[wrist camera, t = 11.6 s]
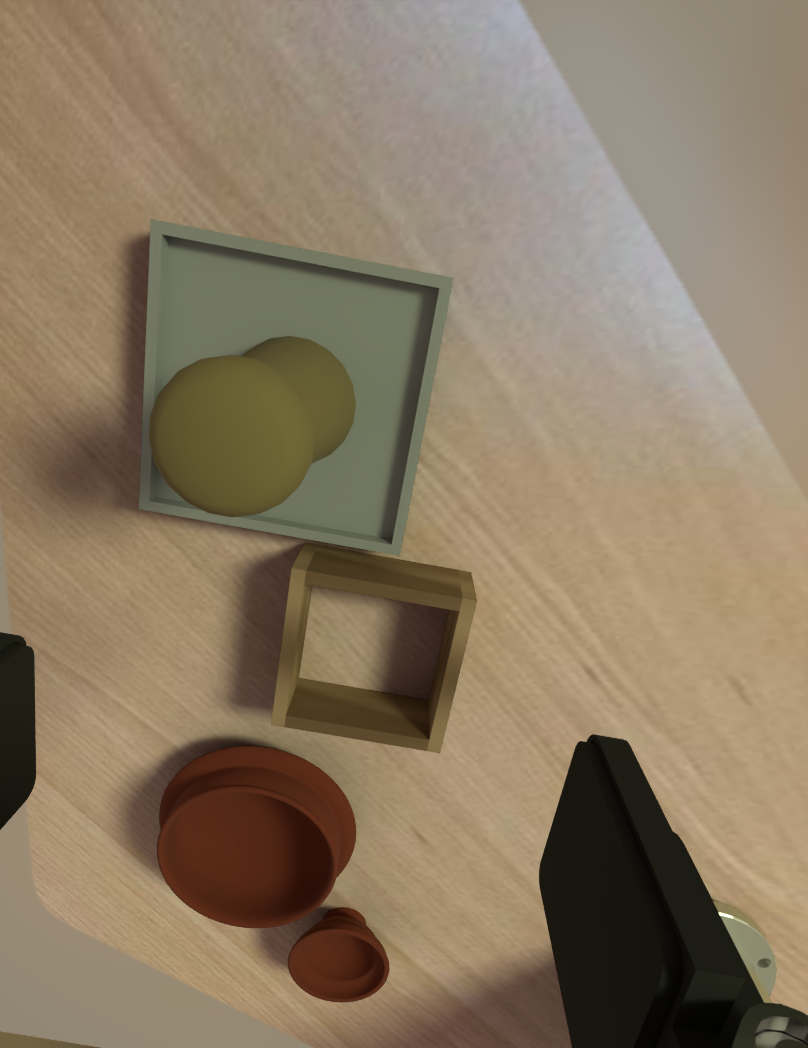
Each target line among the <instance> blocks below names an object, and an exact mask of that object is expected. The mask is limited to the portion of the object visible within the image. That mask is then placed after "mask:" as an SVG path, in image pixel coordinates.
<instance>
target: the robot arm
mask: <svg viewBox="0 0 808 1048" xmlns="http://www.w3.org/2000/svg"><path fill="white" fill-rule="evenodd" d="M35 780H36V741H35V674H34V651H33V649H32V648H31V647H29V646H26V642H25V640H24V638H23V637H21V636H19V635H13V634H7V633H1V632H0V830H1V828H2V827H3V826H4V825H5V824H6V823H7V821H8V820H9V819H10V818H11V817H12V816H13V815H14V814H15V813H16V811H17V810H18V809H19V808H20V807H21V806H22V805H23V803H24V802H25V801H26V800H27V798H28V797H29V795H30V793H31V792H32V789H33V787H34V784H35ZM539 884H540V891H541V896H542V901H543V905H544V910H545V915H546V920H547V925H548V930H549V935H550V940H551V945H552V950H553V955H554V960H555V965H556V970H557V975H558V980H559V985H560V990H561V995H562V1000H563V1004H564V1009H565V1014H566V1019H567V1024H568V1029H569V1034H570V1039H571V1044H572V1048H808V1015H806V1014H804V1013H803V1012H801V1011H798V1010H796V1009H793V1008H790V1007H788V1006H785V1005H782V1004H776V1003H773V1002H772V1000H771V999H770V997H769V996H770V994H771V992H772V989H773V987H774V984H775V981H776V973H777V965H776V959H775V955H774V953H773V950H772V948H771V946H770V944H769V942H768V941H767V939H766V937H765V935H764V934H763V932H762V931H761V929H760V928H759V926H758V925H757V924H756V923H755V922H754V921H753V920H752V919H751V918H749V917H748V916H747V915H745V914H744V913H742V912H740V911H739V910H737V909H736V908H734V907H731V906H728V905H726V904H723V903H720V902H717V901H713V900H712V898H711V896H710V894H709V892H708V890H707V888H706V886H705V885H704V883H703V881H702V879H701V877H700V875H699V873H698V871H697V869H696V867H695V865H694V863H693V861H692V859H691V857H690V855H689V853H688V851H687V849H686V847H685V845H684V843H683V842H682V840H681V839H680V837H679V836H678V835H677V834H676V833H674V832H673V831H672V829H671V827H670V825H669V823H668V821H667V819H666V817H665V815H664V813H663V811H662V809H661V807H660V805H659V803H658V801H657V799H656V797H655V795H654V793H653V791H652V789H651V787H650V785H649V783H648V781H647V779H646V777H645V775H644V773H643V771H642V769H641V767H640V765H639V763H638V761H637V759H636V757H635V755H634V753H633V751H632V749H631V746H630V745H629V743H628V742H627V741H626V740H623V739H617V738H611V737H605V736H600V735H594V734H593V735H591V736H590V737H589V738H588V740H587V742H583V741H580V742H578V743H577V745H576V748H575V751H574V754H573V757H572V760H571V764H570V767H569V770H568V774H567V777H566V780H565V783H564V787H563V790H562V793H561V797H560V800H559V803H558V807H557V810H556V813H555V816H554V820H553V823H552V826H551V830H550V833H549V836H548V839H547V843H546V846H545V849H544V853H543V856H542V859H541V863H540V870H539ZM0 1048H99V1047H93V1046H87V1045H81V1044H75V1043H69V1042H62V1041H57V1040H51V1039H44V1038H38V1037H32V1036H26V1035H20V1034H13V1033H7V1032H1V1031H0Z"/></svg>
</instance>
